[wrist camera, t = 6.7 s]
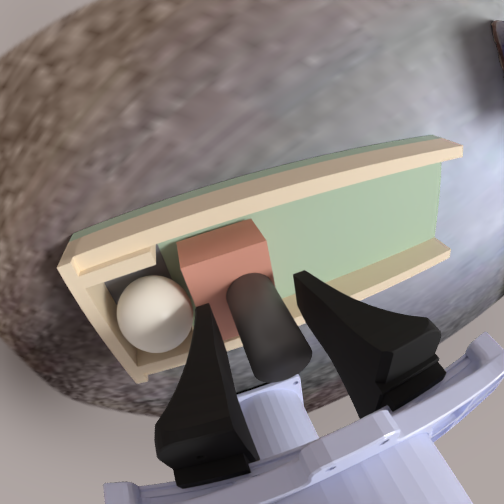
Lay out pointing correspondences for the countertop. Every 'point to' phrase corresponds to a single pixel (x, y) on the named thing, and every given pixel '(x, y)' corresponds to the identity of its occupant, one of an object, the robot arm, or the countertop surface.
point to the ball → (154, 314)
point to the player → (245, 297)
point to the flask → (499, 39)
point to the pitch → (274, 234)
